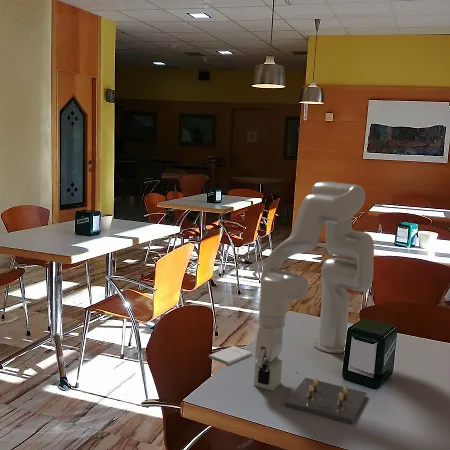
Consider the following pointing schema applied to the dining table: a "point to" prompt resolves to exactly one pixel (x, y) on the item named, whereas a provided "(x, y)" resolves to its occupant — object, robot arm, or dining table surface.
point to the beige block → (274, 374)
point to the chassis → (327, 400)
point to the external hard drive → (230, 355)
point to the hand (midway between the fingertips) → (267, 378)
